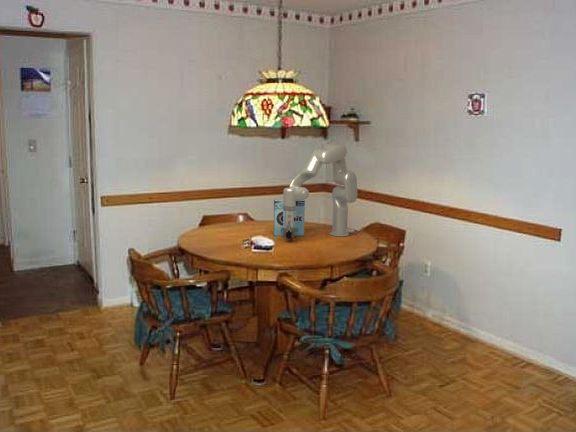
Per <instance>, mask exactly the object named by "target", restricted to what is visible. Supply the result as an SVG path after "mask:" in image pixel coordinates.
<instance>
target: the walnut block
mask: <svg viewBox="0 0 576 432" xmlns="http://www.w3.org/2000/svg"><path fill="white" fill-rule="evenodd" d="M286 232H287V228H285V229H284V230H283V236H282V239H283V241H291V242H292V241H294V239H295V236H294V228H291V232H292V235H291V239H286Z"/></svg>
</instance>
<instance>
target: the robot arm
mask: <svg viewBox="0 0 576 432" xmlns="http://www.w3.org/2000/svg"><path fill="white" fill-rule="evenodd" d="M347 153H348V151H347V147H346V146H344V145H343V144H336V143H327V144H325V145H324V146H323V147H322V149H320V148H318V149H315V150H313V151H312V153H311V155H310V156H309V159H308V160H307V163H306V165H305V167H304V169H303V170H302V171H300V172H298V174H297V175H295V177H294V178H293V179H292V180H291V183H290V185H289V187H285V188H284V189H283V199H282V200H283V211H285V225H286V228H287V232H286V239H291V235H292V232H291V227H293V228H294V212H295V211H296V200H306V199H308V197H309V196H310V191H309V190H308V189H307V188H306V187H303V186H302V185H303V184H304V183H305V182H307V181H308V180H311V179H313V178H316V177H317V175H318V173H319V171H320V169H321V168H322V165H329V164H331V165H332V177H333V182H334V183H335V184H337V186H335V187H334V188H333V189H332V191H331V196H332V204H333V205H332V227H331V229H332V230H331V231H330V232H329V235H331V236H333V237H348V236H349V235H350V233H355V229H354V228H353V229H352V228H348V217H349V215H348V213H349V205H348V204H352V203H355V202H356V201H357V199H358V179H357V175H356V173H355V172H354V171H352V170H348V169H347V163H346V158H345V157H346V155H347Z"/></svg>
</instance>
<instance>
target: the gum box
mask: <svg viewBox="0 0 576 432" xmlns="http://www.w3.org/2000/svg"><path fill="white" fill-rule="evenodd" d="M305 200H306V199H304V200H296V211H295V212H294V237H297V236H298V237H299V236H303V237H304V236H305V209H306V208H305V205H306V203H305V202H306V201H305ZM285 228H286V225H285V211H283V199H273V236H274V237H283V230H284V229H285ZM291 228H293V227H291Z"/></svg>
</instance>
